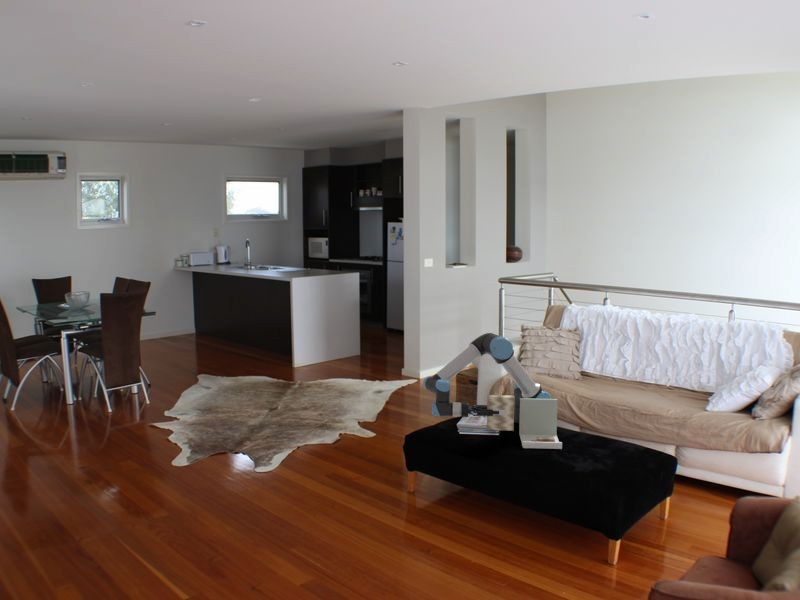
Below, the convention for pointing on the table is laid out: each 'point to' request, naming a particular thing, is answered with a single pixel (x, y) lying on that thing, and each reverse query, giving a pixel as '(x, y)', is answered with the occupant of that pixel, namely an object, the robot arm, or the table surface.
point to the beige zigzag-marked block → (501, 420)
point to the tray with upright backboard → (538, 422)
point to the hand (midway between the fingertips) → (505, 411)
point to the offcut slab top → (545, 439)
